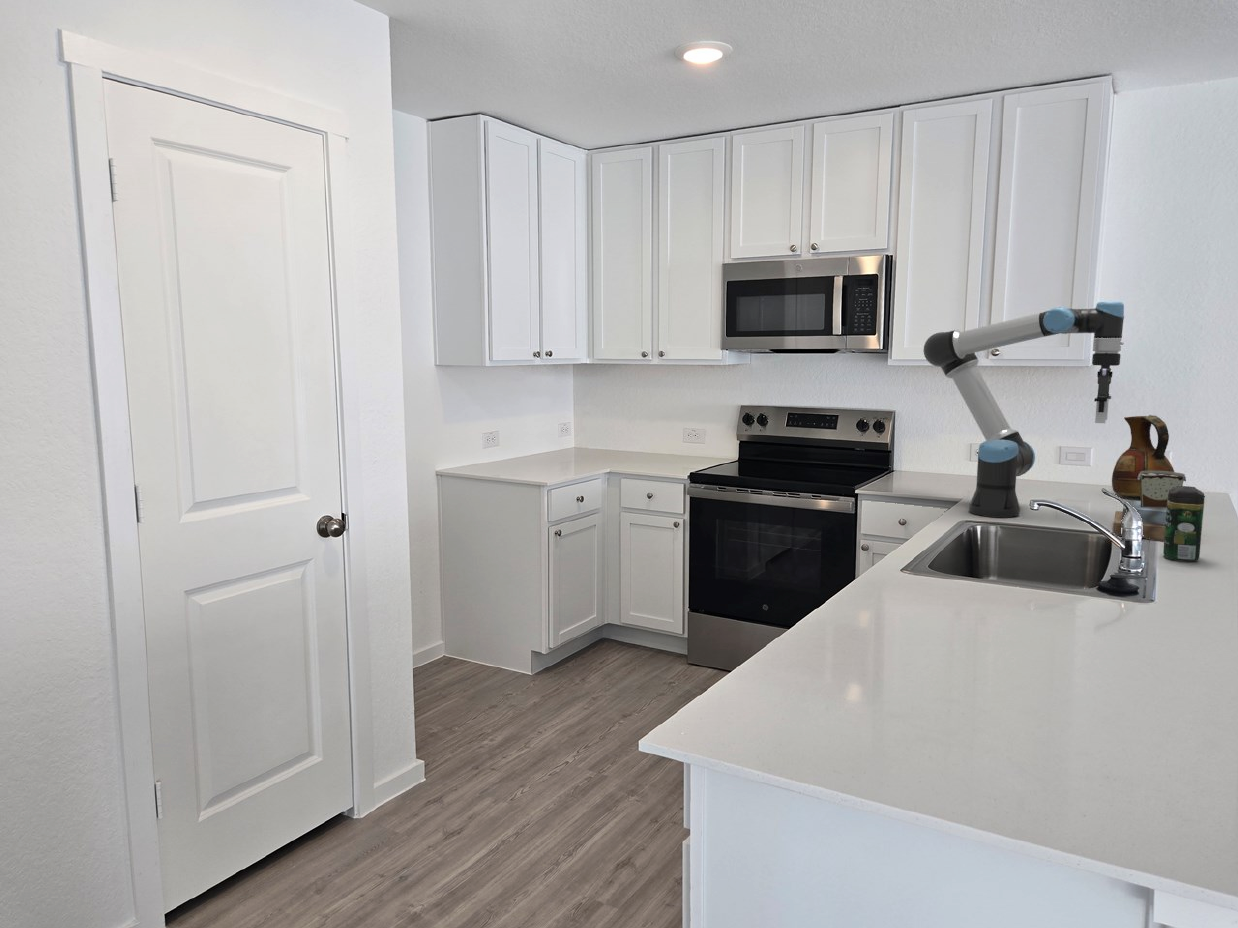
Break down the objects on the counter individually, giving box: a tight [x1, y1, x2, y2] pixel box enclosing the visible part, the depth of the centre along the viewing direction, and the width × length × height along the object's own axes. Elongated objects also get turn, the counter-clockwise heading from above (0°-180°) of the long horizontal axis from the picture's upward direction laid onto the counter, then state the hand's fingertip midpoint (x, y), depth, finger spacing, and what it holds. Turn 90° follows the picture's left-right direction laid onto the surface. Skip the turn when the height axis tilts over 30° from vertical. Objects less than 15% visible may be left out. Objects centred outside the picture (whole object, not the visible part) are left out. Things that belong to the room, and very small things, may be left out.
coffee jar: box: [1162, 485, 1206, 563], centre depth 220 cm, size 10×8×19 cm
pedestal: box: [1112, 499, 1167, 542], centre depth 250 cm, size 20×20×8 cm
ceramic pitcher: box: [1111, 414, 1175, 498], centre depth 306 cm, size 20×20×30 cm
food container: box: [1137, 471, 1187, 508], centre depth 249 cm, size 12×6×10 cm, turn 80°
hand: (1101, 421), depth 268 cm, fingers open, 13 cm apart
